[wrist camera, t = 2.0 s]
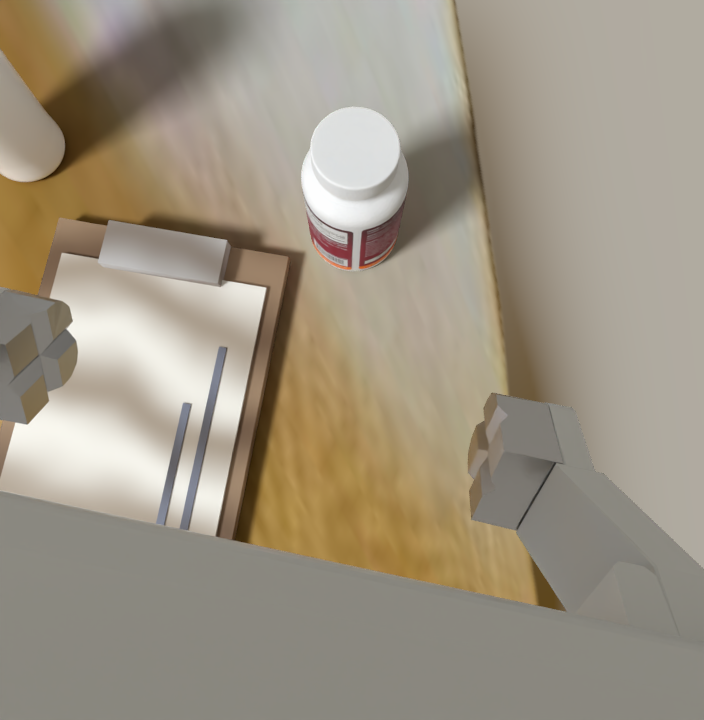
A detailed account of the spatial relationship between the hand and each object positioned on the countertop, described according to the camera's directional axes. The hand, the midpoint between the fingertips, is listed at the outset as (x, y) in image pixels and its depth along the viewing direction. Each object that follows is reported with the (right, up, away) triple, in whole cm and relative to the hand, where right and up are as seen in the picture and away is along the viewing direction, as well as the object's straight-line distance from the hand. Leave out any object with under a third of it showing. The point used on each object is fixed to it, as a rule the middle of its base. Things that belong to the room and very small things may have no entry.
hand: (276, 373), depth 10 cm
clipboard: (-13, -2, +26) cm, 29 cm away
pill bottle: (+2, +9, +28) cm, 30 cm away
